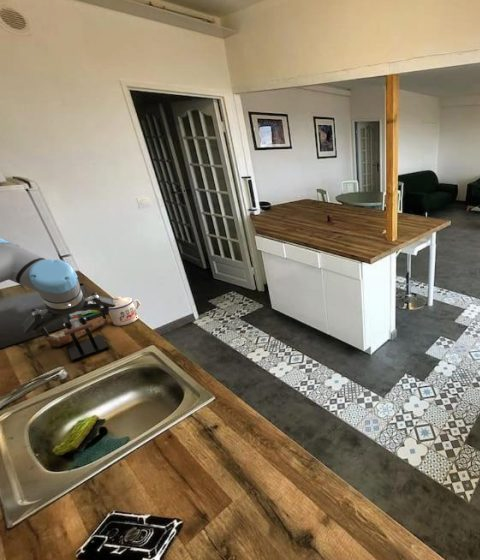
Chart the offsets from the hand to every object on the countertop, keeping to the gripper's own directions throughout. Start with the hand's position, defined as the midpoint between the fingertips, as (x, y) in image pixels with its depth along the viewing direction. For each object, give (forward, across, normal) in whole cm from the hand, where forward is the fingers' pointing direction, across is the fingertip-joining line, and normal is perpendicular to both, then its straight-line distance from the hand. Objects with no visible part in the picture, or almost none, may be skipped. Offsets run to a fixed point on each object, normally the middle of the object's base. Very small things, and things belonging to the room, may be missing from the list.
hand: (75, 323), depth 99 cm
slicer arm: (+13, 0, +3) cm, 14 cm away
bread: (+35, 0, +8) cm, 36 cm away
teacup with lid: (+35, +16, +8) cm, 40 cm away
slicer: (+25, 0, -1) cm, 25 cm away
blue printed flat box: (+47, +6, +20) cm, 51 cm away
